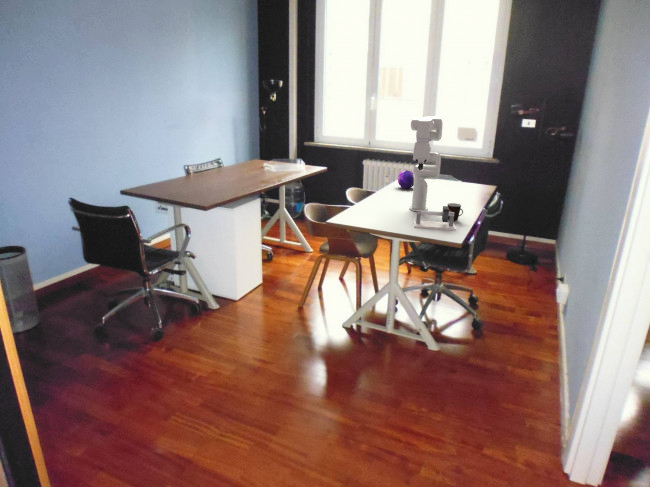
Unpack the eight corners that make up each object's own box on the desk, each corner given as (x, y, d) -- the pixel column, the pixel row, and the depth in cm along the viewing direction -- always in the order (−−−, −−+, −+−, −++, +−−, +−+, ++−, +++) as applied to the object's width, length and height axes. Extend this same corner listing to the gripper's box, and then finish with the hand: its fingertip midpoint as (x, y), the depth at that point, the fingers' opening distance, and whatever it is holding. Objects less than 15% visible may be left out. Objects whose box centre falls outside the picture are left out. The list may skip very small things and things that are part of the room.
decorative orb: (398, 185, 409) (400, 168, 404) (416, 187, 404) (417, 169, 399) (395, 189, 395) (396, 171, 390) (413, 190, 391) (415, 172, 386)
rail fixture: (413, 221, 305) (414, 207, 302) (453, 224, 301) (455, 209, 298) (413, 227, 293) (415, 212, 290) (455, 230, 289) (457, 215, 286)
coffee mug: (444, 217, 315) (445, 203, 312) (456, 217, 316) (458, 203, 313) (449, 222, 304) (451, 207, 301) (462, 222, 305) (464, 207, 302)
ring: (441, 218, 299) (443, 206, 296) (446, 218, 298) (448, 206, 296) (442, 222, 291) (443, 209, 289) (447, 222, 291) (449, 209, 288)
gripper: (434, 140, 298) (432, 169, 304) (410, 139, 300) (408, 168, 306) (435, 141, 291) (432, 171, 297) (410, 140, 293) (408, 170, 299)
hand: (420, 169), depth 301 cm, fingers closed
